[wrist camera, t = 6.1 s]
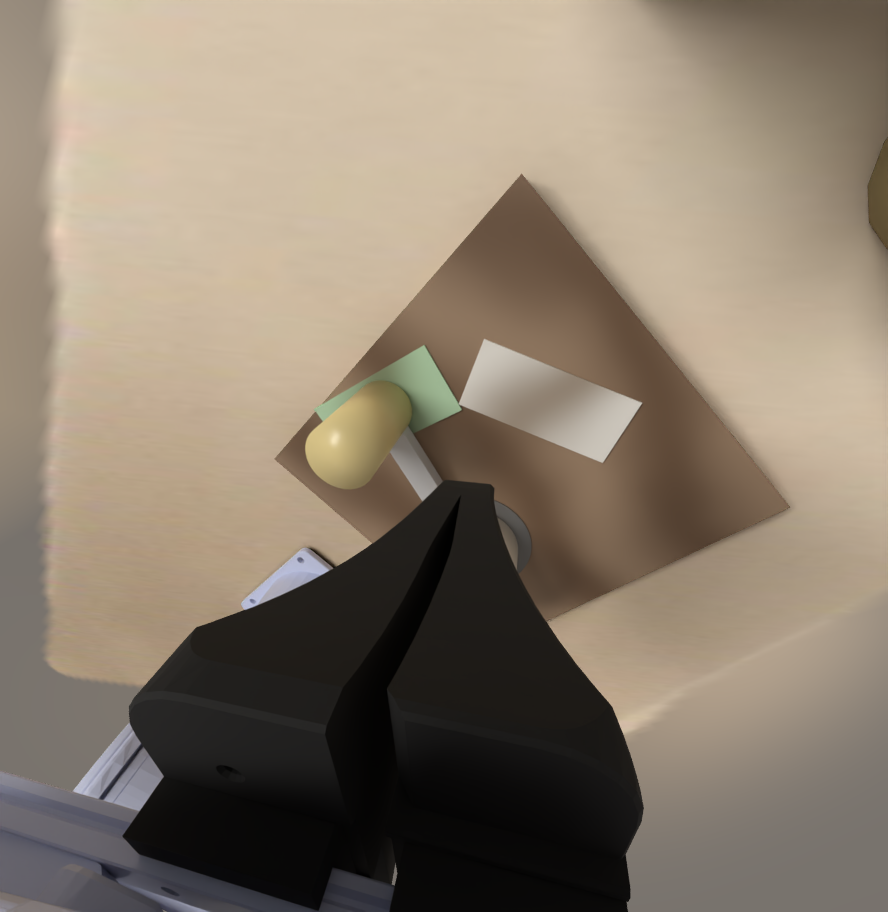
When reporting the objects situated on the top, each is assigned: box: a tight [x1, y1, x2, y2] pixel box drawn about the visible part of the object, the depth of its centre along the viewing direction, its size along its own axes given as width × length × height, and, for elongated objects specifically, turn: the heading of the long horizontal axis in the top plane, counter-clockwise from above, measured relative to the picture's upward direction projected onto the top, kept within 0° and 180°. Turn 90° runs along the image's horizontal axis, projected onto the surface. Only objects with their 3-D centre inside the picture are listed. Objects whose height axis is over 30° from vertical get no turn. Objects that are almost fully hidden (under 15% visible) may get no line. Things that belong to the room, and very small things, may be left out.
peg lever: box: [305, 380, 518, 570], centre depth 19 cm, size 13×5×5 cm, turn 31°
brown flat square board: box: [275, 174, 790, 621], centre depth 21 cm, size 18×18×1 cm
